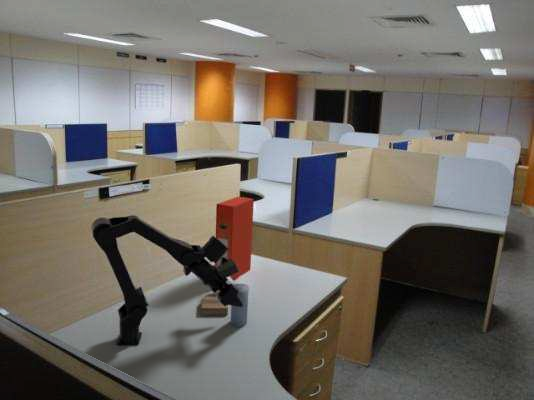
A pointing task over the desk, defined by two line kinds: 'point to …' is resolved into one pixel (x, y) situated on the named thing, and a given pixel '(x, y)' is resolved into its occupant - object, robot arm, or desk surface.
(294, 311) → the desk surface
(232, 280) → the die
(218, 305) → the base slab
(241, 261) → the file binder
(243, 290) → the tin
